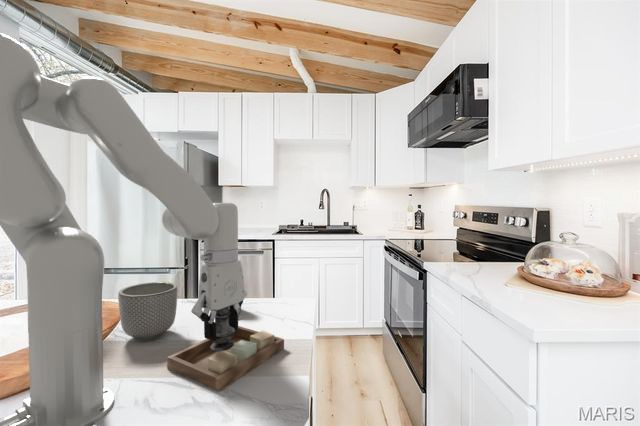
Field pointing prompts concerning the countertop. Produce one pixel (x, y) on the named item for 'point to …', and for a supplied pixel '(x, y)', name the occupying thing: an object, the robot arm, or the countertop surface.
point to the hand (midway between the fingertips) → (221, 332)
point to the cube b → (244, 350)
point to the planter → (147, 309)
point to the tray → (196, 356)
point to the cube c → (262, 339)
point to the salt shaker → (223, 331)
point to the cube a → (222, 362)
